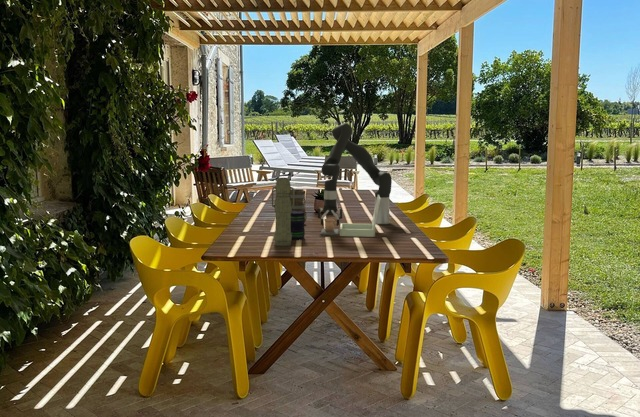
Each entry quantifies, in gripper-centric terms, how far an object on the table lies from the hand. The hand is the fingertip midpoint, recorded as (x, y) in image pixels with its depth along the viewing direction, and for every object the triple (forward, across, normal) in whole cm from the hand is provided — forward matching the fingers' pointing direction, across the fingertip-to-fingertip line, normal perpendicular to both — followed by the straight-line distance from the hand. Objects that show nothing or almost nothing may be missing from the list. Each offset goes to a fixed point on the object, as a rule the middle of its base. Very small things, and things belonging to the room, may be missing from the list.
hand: (329, 225), depth 338 cm
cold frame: (+4, -17, 0) cm, 18 cm away
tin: (+4, +23, -25) cm, 34 cm away
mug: (+4, +28, -87) cm, 92 cm away
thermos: (+4, +23, +38) cm, 45 cm away
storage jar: (+4, +18, +21) cm, 28 cm away
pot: (+3, 0, 0) cm, 3 cm away
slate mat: (+4, 0, 0) cm, 4 cm away
